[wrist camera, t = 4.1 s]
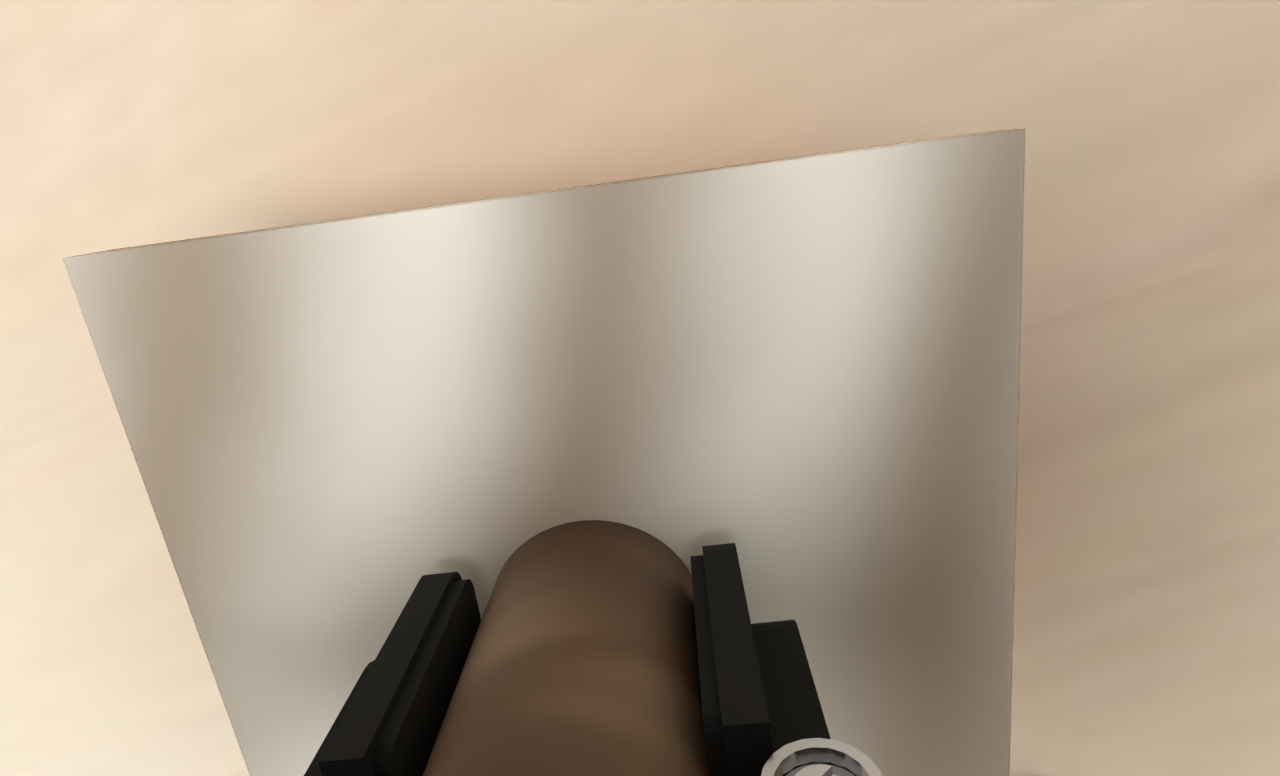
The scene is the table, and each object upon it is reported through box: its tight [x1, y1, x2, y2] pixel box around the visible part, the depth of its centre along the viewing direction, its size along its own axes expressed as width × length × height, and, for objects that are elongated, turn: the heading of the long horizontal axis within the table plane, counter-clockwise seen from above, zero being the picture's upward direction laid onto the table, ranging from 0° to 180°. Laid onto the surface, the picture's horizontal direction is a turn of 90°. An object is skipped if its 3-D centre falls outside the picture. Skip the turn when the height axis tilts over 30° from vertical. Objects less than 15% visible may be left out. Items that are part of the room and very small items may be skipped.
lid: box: [63, 129, 1025, 776], centre depth 10 cm, size 14×14×7 cm
